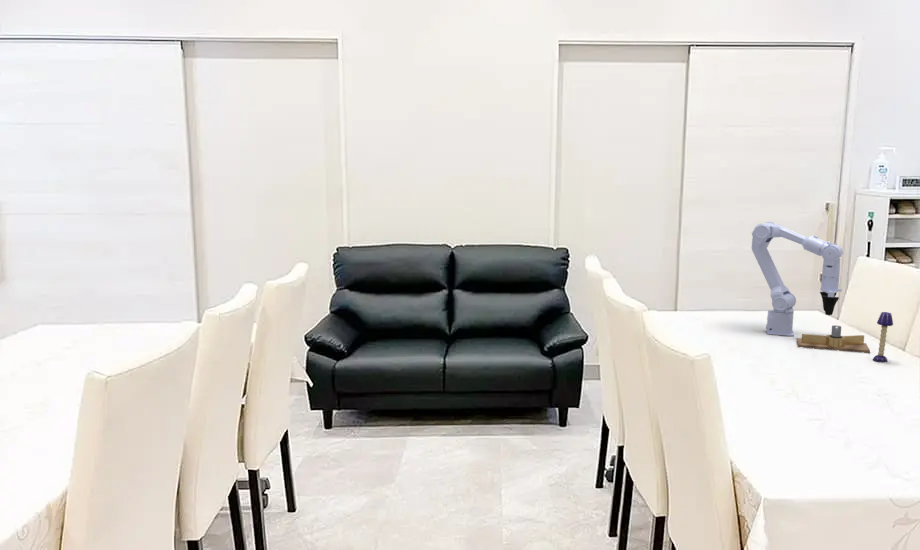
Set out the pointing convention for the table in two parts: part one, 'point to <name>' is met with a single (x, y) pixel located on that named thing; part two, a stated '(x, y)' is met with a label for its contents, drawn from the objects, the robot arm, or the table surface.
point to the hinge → (833, 340)
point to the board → (849, 348)
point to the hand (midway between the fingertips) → (827, 312)
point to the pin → (836, 331)
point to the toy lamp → (883, 334)
